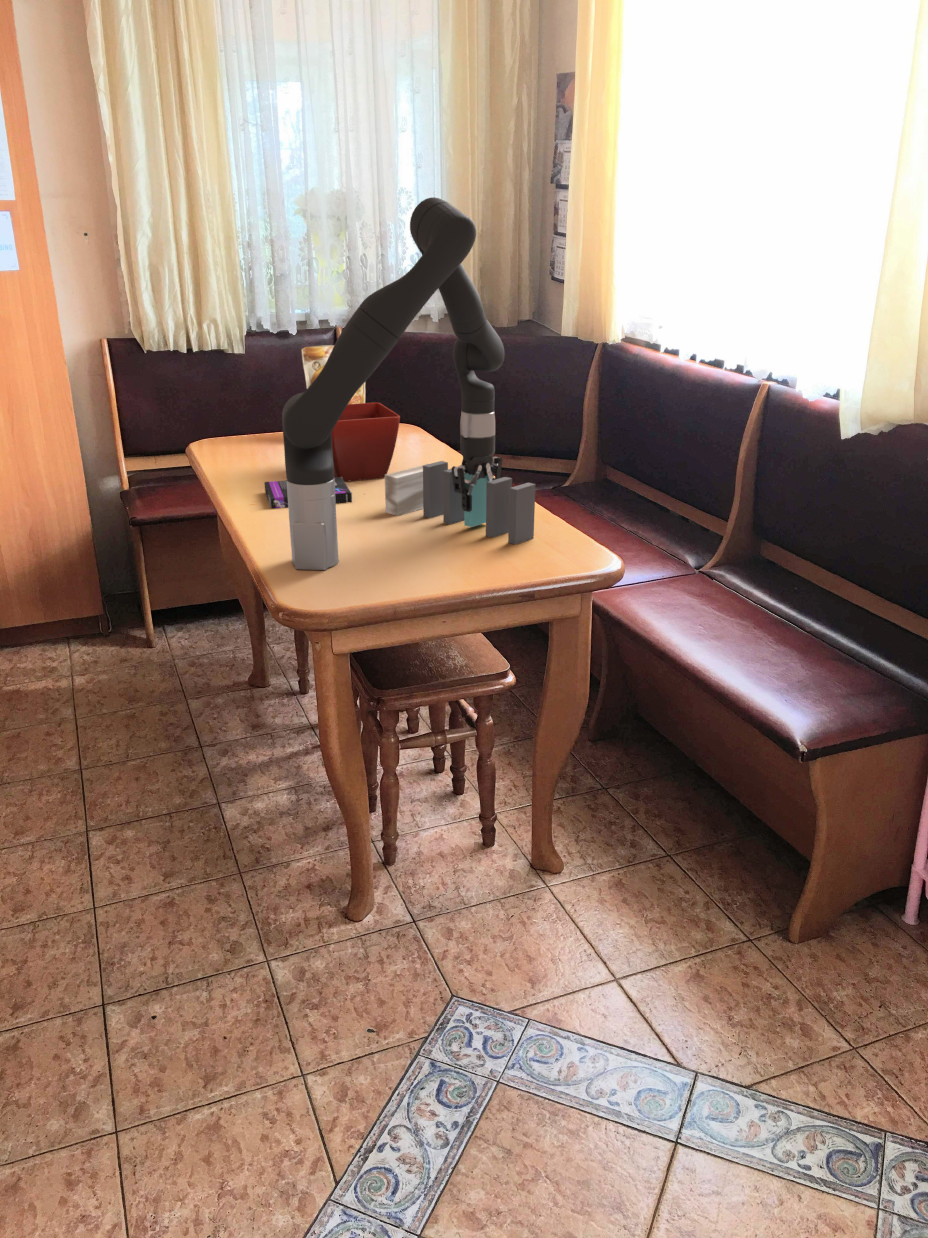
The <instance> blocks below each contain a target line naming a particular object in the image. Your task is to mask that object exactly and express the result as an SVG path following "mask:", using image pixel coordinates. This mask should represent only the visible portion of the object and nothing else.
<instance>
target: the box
mask: <svg viewBox="0 0 928 1238" xmlns="http://www.w3.org/2000/svg"><path fill="white" fill-rule="evenodd" d="M334 479H335V500H336V503H337V504H347V503H346V502H350V503H353V493H352V491H351V490H350V488H349V487H348V486H347V483H346V482H344V481H343V479H342V477H334ZM263 485H264V492H265V496H266V498H267V501H268V504H269V507H270V509H273V510H274V509H285V508H288V494H287V479H286V480H275V481H273V480H272V481H264V483H263Z"/></svg>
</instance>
